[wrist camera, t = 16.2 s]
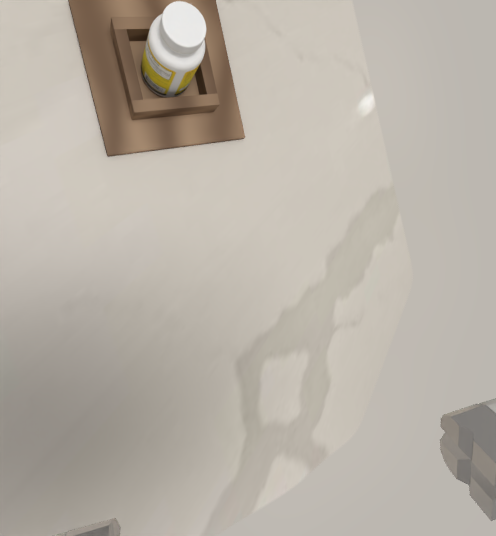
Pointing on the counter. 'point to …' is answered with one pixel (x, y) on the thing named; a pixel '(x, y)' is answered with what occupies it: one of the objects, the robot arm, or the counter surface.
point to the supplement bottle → (173, 49)
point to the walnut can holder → (136, 91)
